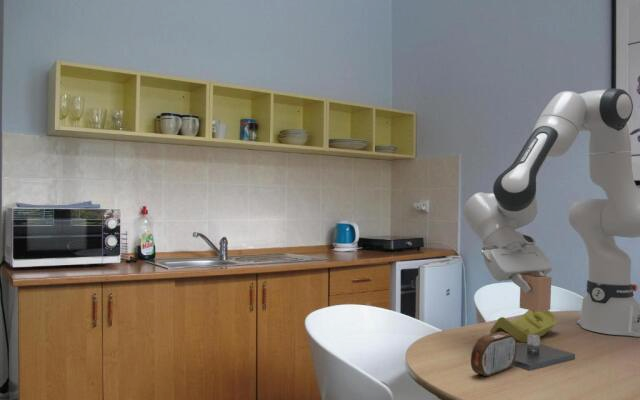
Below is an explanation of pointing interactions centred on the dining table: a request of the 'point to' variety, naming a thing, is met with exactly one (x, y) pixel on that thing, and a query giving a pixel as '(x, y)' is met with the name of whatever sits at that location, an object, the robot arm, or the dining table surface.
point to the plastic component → (526, 324)
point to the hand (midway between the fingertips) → (537, 290)
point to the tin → (493, 353)
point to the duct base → (538, 354)
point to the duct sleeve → (536, 293)
